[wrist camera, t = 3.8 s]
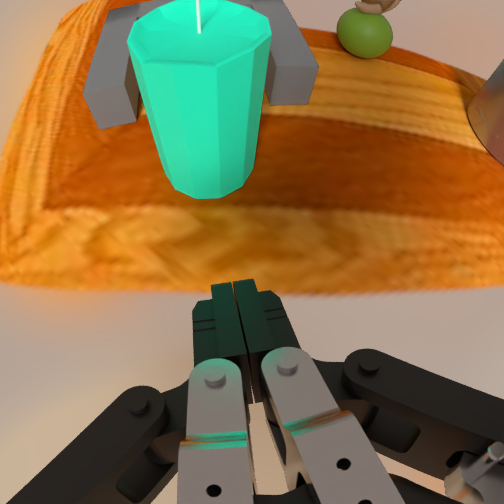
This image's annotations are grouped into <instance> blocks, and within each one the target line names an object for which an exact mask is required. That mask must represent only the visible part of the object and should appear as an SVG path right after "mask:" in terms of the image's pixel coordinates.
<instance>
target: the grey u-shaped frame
mask: <svg viewBox="0 0 504 504" xmlns="http://www.w3.org/2000/svg"><path fill="white" fill-rule="evenodd" d="M172 1H175V0H154V1H149V2H144V3H139V4H134V5H129V6H125V7H121V8H117V9H113V10H110V11H109V14H108V16H107V19H106V21H105V24H104V27H103V29H102V32H101V35H100V38H99V41H98V44H97V47H96V50H95V53H94V56H93V59H92V63H91V66H90V69H89V73H88V76H87V80H86V84H85V87H84V91H83V96H84V98H85V100H86V103H87V105H88V107H89V109H90V111H91V113H92V115H93V117H94V119H95V121H96V123H97V125H98V127H99V129H100V130H101V129H105V128H109V127H114V126H118V125H123V124H128V123H133V122H137V110H138V98H139V86H138V82H137V78H136V75H135V71H134V67H133V64H132V60H131V56H130V52H129V48H128V44H127V40H128V37H129V34H130V32H131V29H132V26H133V24H134V22H135V21H137V20H138V19H140V18H141V17H143V16H144V15H146V14H147V13H149V12H151V11H152V10H154V9H155V8H157V7H160V6H162V5H165V4H167V3H169V2H172ZM227 1H230V2H233V3H237V4H240V5H243V6H246V7H249V8H251V9H253V10H254V11H256V12H258V13H260V14H262V15H264V16H265V17H267V18H268V20H269V25H270V29H271V33H272V36H271V43H270V50H269V57H268V64H267V72H266V79H265V86H264V87H265V90H266V93H267V97H268V100H269V104H270V105H295V104H308V102H309V99H310V96H311V92H312V89H313V86H314V82H315V79H316V75H317V72H318V69H319V65H318V63H317V61H316V59H315V57H314V56H313V54H312V52H311V50H310V48H309V46H308V44H307V42H306V40H305V38H304V37H303V35H302V33H301V31H300V29H299V28H298V26H297V24H296V22H295V20H294V19H293V18H292V15H291V14H290V12H289V10H288V8H287V7H286V5H285V3H284V2H283V0H227Z"/></svg>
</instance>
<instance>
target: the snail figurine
mask: <svg viewBox="0 0 504 504" xmlns="http://www.w3.org/2000/svg"><path fill="white" fill-rule="evenodd" d="M361 1H362V2H355V5H356V7H357V8H353V9H350V10H348V11H346V12H345V13H344V14H343V15H342V16H341V17H340V19H339V21H338V23H337V36H338V39H339V41H340V43H341V44H342V46H343V47H344V48H345V49H346V50H347V51H348V52H350V53H351V54H353V55H355V56H358V57H361V58H375V57H378V56H381V55H383V54H384V53H385V52H386V51H387V50H388V49H389V48H390V46H391V43H392V39H393V33H392V28H391V26H390V24H389V22H388V21H387V19H386V18H385V17H384V16H383V15H381V14H382V13H384V12H387V11H389V10H391V9H393V8H395V7H396V6H397V5H398V4H399V2H400V1H401V0H361Z"/></svg>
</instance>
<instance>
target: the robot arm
mask: <svg viewBox="0 0 504 504" xmlns="http://www.w3.org/2000/svg"><path fill="white" fill-rule="evenodd" d="M467 113H468V118H469V121H470V123H471V125H472V127H473V130H474V131H475V133H476V135H477V136H478V138H479V139H480V141H481V142H482V143H483V145H484V146H485V147H486V149H487V150H488V151H489V152H490V153H491V154H492V155H493V156H494V157H495V158H496V159H497V160H498V161H499V162H500V163H501V164H503V165H504V59H503V61H502V62H501V63H500V65H499V66H498V67H497V69H496V70H495V71H494V73H493V74H492V75H491V77H490V78H489V79H488V80H487V82H486V83H485V84H484V85H483V87H482V88H481V89H480V91H479V92H478V93H477V94H476V96H475V97H474V98H473V99H472V101H471V102H470V103H469V105H468V108H467ZM233 289H234V293H233ZM211 291H212V299H210V300H203V301H198V302H197V304H196V306H195V307H194V309H193V311H192V315H193V316H192V320H193V347H194V369H193V370H192V371H191V373H190V376H189V379H188V380H187V381H186V382H184V383H183V384H182V385H180V386H179V387H176V388H174V389H171V390H169V391H166V392H163V393H160V392H159V391H158V390H156V389H155V388H152V387H149V386H136V387H132V388H130V389H128V390H126V391H125V392H123V393H122V394H121V395H120V396H119V397H118V398H117V399H116V400H115V401H114V402H112V404H111V405H110V406H108V407H107V408H106V409H105V410H104V411H103V412H102V413H101V414H100V415H99V416H98V417H97V418H96V419H95V420H94V421H93V422H92V423H91V424H90V425H89V426H88V427H87V428H85V429H84V430H83V431H82V432H81V433H80V434H79V435H78V436H77V437H76V438H75V439H74V440H73V441H72V442H71V443H70V444H69V445H68V446H67V447H66V448H65V449H64V450H62V451H61V452H60V453H59V454H58V455H57V456H56V457H55V458H54V459H53V460H52V461H51V462H50V463H49V464H48V465H47V466H46V467H45V468H43V469H42V470H41V471H40V472H39V473H38V474H37V475H36V476H35V477H34V478H33V479H32V480H31V481H30V482H29V483H28V484H27V485H25V486H24V487H23V489H21V490H20V491H19V492H18V493H17V494H16V495H15V496H14V497H13V498H12V499H10V501H8V502H7V503H6V504H151V502H152V501H153V500H154V499H155V498H156V497H157V495H158V494H159V493H160V492H161V491H162V490H163V488H164V487H165V486H166V485H167V484H168V483H169V481H170V480H171V479H172V478H173V477H174V475H175V474H176V473H177V472H178V486H177V504H504V400H503V399H501V398H498V397H495V396H492V395H490V394H487V393H484V392H482V391H479V390H476V389H473V388H471V387H468V386H466V385H463V384H460V383H458V382H455V381H452V380H450V379H447V378H445V377H442V376H440V375H437V374H434V373H432V372H429V371H427V370H424V369H422V368H419V367H417V366H414V365H412V364H409V363H407V362H404V361H402V360H400V359H397V358H394V357H392V356H390V355H388V354H385V353H383V352H380V351H378V350H374V349H360V350H356V351H354V352H352V353H351V354H350V355H348V356H347V358H346V359H345V362H323V361H318V360H315V359H313V358H311V357H310V355H309V354H308V353H306V352H305V351H303V350H302V349H301V347H300V345H299V343H298V340H297V338H296V335H295V333H294V331H293V328H292V326H291V323H290V321H289V319H288V317H287V314H286V311H285V309H284V307H283V304H282V302H281V300H280V297H278V296H277V295H276V294H274V293H273V292H272V291H271V290H268V291H262V292H258V291H257V288H256V285H255V282H254V279H247V280H241V281H234V282H233V288H232V283H231V282H228V283H221V284H214V285H211ZM251 386H252V391H253V395H254V399H255V403H258V402H263V405H264V410H265V417H266V423H267V426H268V429H269V432H270V435H271V437H272V440H273V443H274V446H275V449H276V451H277V454H278V457H279V460H280V462H281V465H282V468H283V471H284V474H285V479H286V483H287V487H288V490H289V492H287V493H285V494H282V495H258V492H257V485H256V479H255V471H254V462H253V453H252V445H251V436H250V427H249V424H250V413H249V407H248V404H253V398H252V391H251ZM375 451H376V452H378V453H380V454H382V455H384V456H387V457H389V458H391V459H393V460H395V461H397V462H400V463H402V464H404V465H407V466H409V467H411V468H414V469H416V470H418V471H421V472H423V473H426V474H428V475H431V476H433V477H436V478H438V479H441V480H443V481H444V487H445V494H446V495H447V497H446V496H444V495H441V494H439V493H436V492H434V491H432V490H430V489H427V488H425V487H423V486H421V485H418V484H416V483H414V482H412V481H410V480H408V479H406V478H403V477H401V476H397V475H394V474H390V473H388V472H387V471H386V469H385V467H384V466H383V464H382V462H381V461H380V459H379V457H378V455H377V453H376V452H375ZM451 498H452V499H451Z"/></svg>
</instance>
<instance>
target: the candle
mask: <svg viewBox="0 0 504 504" xmlns="http://www.w3.org/2000/svg"><path fill="white" fill-rule="evenodd" d="M271 36H272V33H271V29H270V25H269V20H268V18H267V17H265V16H264V15H262V14H260V13H258V12H256V11H254V10H253V9H251V8H249V7H246V6H243V5H240V4H237V3H233V2H230V1H227V0H175V1H172V2H169V3H167V4H165V5H162V6H160V7H157V8H155V9H154V10H152V11H151V12H149V13H147V14H146V15H144V16H143V17H141V18H140V19H138V20H137V21H135V22H134V24H133V26H132V29H131V32H130V34H129V37H128V40H127V44H128V48H129V52H130V56H131V60H132V64H133V67H134V71H135V75H136V78H137V82H138V86H139V89H140V93H141V96H142V100H143V103H144V107H145V110H146V114H147V117H148V120H149V124H150V127H151V130H152V134H153V137H154V140H155V143H156V147H157V150H158V153H159V156H160V159H161V162H162V166H163V169H164V172H165V173H166V175H167V177H168V178H169V180H170V182H171V183H172V185H173V187H174V188H175V189H176V190H178V191H180V192H182V193H184V194H186V195H189V196H191V197H193V198H195V199H209V198H222V197H224V196H226V195H228V194H229V193H231V192H233V191H235V190H237V189H239V188H241V187H242V186H243V185H244V183H245V182H246V180H247V178H248V177H249V175H250V173H251V172H252V170H253V169H254V161H255V153H256V146H257V138H258V131H259V123H260V116H261V108H262V101H263V94H264V86H265V79H266V72H267V64H268V57H269V50H270V43H271Z"/></svg>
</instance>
